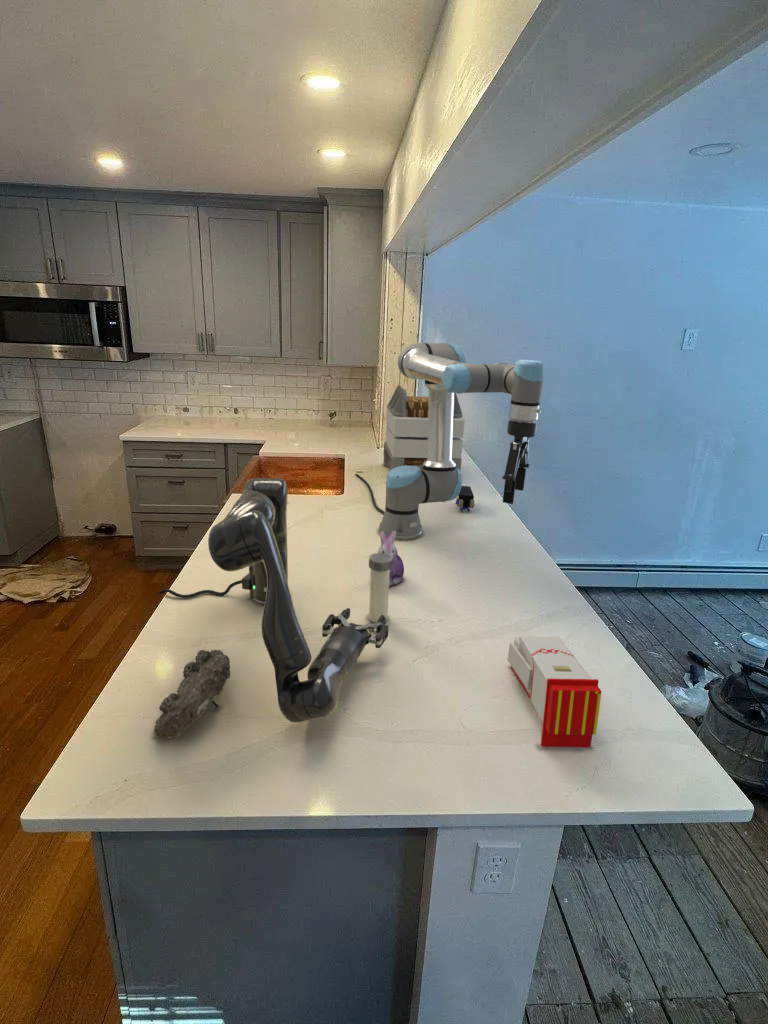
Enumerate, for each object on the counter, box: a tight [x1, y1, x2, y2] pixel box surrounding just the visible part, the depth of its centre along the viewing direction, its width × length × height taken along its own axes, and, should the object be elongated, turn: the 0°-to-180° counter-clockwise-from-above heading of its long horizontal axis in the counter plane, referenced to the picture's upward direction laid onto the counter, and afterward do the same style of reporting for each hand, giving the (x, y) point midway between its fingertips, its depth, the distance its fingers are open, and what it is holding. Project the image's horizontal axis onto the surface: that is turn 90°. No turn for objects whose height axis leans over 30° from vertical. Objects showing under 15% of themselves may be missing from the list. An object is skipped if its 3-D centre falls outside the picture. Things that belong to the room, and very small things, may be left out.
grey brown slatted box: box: [383, 384, 465, 474], centre depth 268 cm, size 34×33×41 cm
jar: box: [368, 569, 390, 623], centre depth 142 cm, size 5×5×16 cm
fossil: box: [153, 649, 231, 740], centre depth 109 cm, size 22×10×15 cm
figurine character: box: [455, 485, 475, 513], centre depth 228 cm, size 7×8×15 cm
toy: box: [507, 635, 602, 748], centre depth 115 cm, size 12×13×30 cm
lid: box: [368, 552, 392, 572], centre depth 140 cm, size 6×6×2 cm
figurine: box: [377, 530, 405, 587], centre depth 163 cm, size 9×10×15 cm
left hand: (365, 614), depth 133 cm, fingers open, 8 cm apart
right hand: (513, 496), depth 158 cm, fingers open, 13 cm apart
